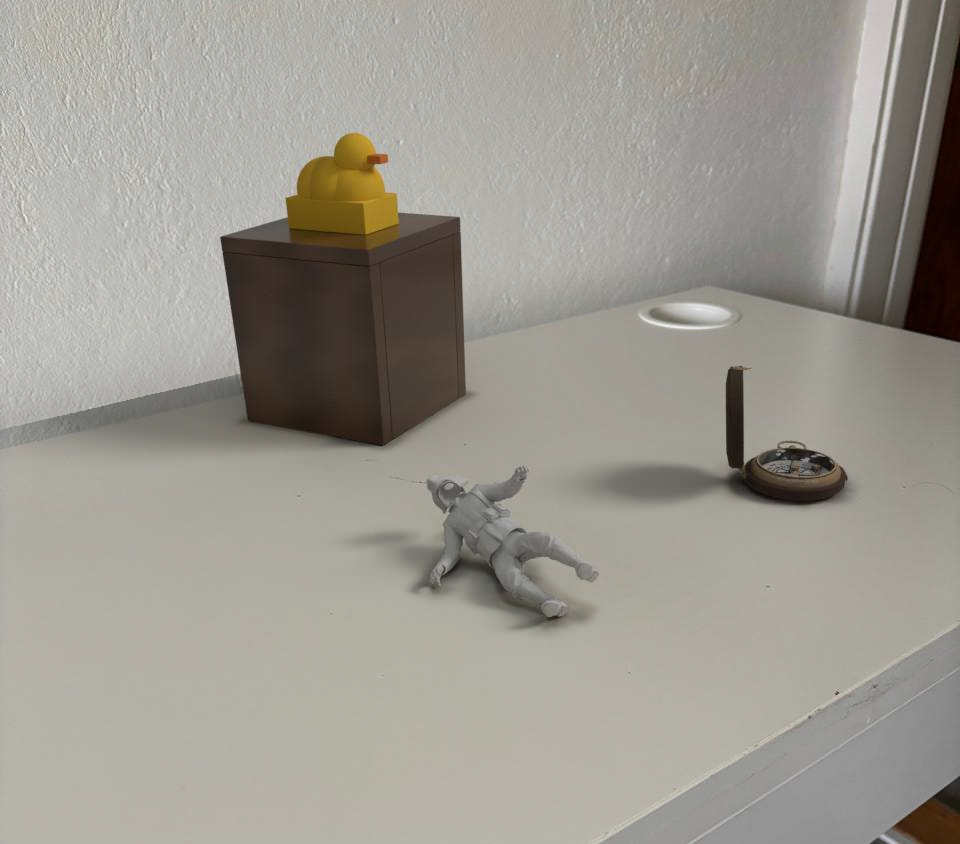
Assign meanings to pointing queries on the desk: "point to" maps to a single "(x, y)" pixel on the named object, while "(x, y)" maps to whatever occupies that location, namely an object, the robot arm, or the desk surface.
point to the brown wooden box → (348, 325)
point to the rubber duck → (343, 191)
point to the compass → (777, 457)
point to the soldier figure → (499, 537)
